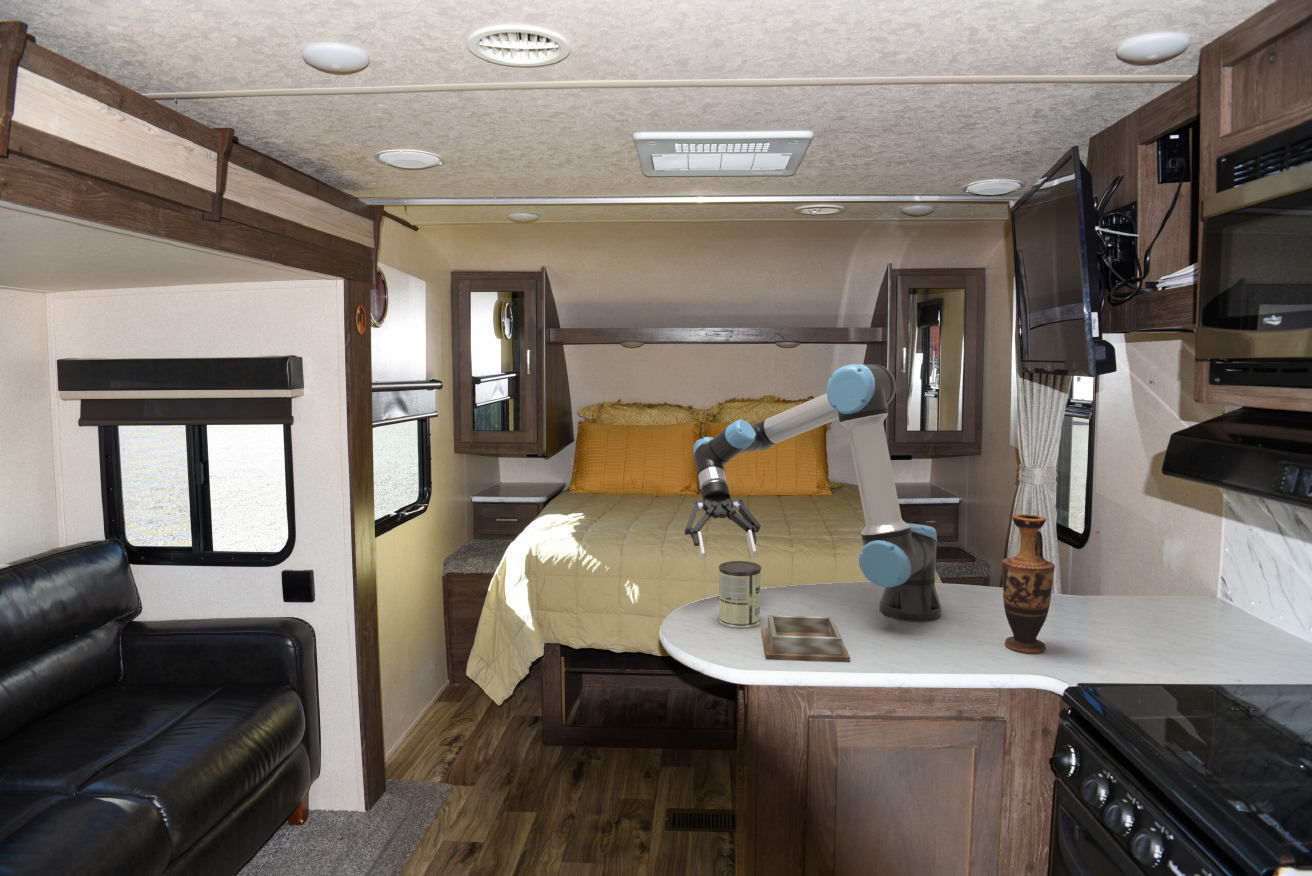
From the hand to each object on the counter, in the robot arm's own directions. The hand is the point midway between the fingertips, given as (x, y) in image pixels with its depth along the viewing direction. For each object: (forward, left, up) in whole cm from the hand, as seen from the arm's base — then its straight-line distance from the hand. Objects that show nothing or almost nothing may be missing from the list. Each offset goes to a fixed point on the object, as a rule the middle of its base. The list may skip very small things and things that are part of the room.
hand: (728, 555), depth 208 cm
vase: (-67, +22, -15) cm, 72 cm away
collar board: (-17, +25, -15) cm, 33 cm away
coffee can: (-3, +9, -15) cm, 17 cm away
